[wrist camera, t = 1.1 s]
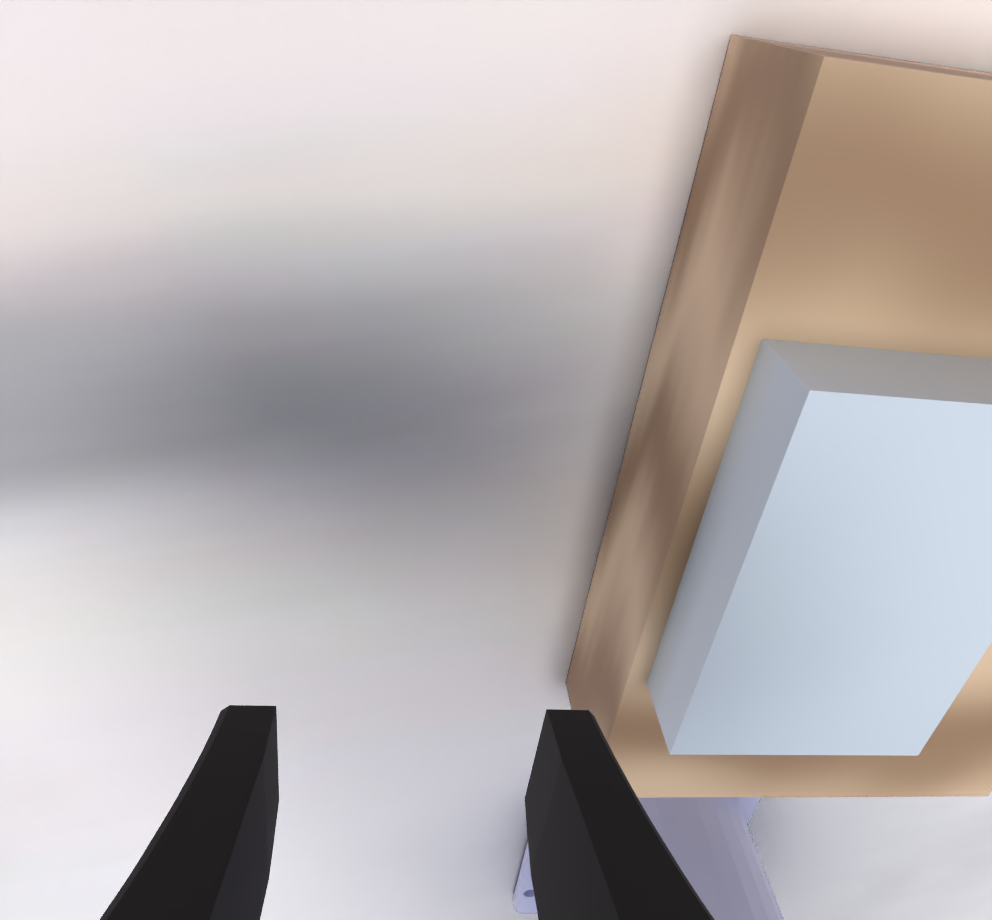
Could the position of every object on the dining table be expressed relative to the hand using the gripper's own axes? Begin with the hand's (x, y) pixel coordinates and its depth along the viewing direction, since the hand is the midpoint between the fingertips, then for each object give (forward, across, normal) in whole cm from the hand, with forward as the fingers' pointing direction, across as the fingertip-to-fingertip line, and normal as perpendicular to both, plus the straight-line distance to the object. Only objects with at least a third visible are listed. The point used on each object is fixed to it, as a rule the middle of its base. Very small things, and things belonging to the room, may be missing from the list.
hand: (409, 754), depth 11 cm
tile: (+5, -9, 0) cm, 10 cm away
